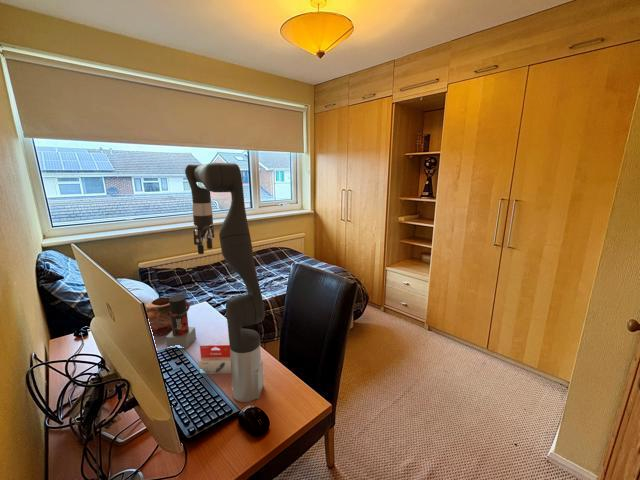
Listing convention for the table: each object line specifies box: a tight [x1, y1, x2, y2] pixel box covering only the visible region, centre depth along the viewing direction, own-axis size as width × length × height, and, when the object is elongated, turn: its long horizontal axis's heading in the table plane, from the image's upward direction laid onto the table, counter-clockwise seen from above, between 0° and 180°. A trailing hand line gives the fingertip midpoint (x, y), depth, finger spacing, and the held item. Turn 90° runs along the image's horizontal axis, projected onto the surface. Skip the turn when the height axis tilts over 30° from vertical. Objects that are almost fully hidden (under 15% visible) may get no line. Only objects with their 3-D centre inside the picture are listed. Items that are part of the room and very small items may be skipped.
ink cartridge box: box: [198, 344, 231, 374], centre depth 101 cm, size 2×11×10 cm, turn 93°
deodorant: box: [169, 294, 189, 336], centre depth 116 cm, size 6×6×15 cm
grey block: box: [165, 326, 197, 350], centre depth 118 cm, size 8×8×5 cm
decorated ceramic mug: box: [145, 296, 191, 336], centre depth 127 cm, size 20×12×14 cm, turn 131°
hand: (205, 251), depth 123 cm, fingers open, 8 cm apart
